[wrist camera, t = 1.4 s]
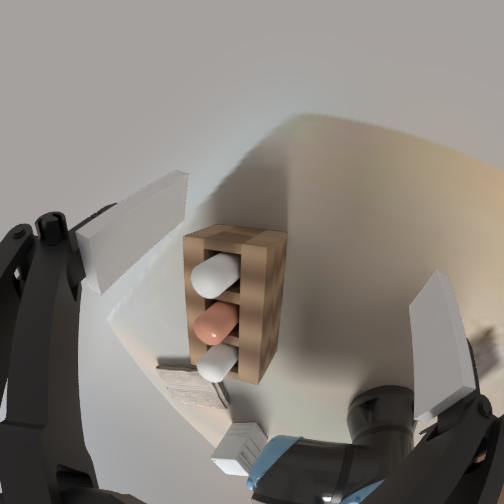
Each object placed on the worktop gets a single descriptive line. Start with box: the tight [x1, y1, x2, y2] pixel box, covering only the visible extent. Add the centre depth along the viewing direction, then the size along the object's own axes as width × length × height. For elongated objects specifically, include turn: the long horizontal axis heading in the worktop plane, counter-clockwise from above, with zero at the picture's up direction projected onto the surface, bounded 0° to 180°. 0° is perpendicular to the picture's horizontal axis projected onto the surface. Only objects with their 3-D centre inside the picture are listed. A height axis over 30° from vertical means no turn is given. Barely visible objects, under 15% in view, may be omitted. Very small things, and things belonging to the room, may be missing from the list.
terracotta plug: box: [194, 300, 240, 345], centre depth 38 cm, size 4×4×9 cm
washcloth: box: [156, 365, 230, 409], centre depth 58 cm, size 12×18×3 cm, turn 108°
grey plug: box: [191, 251, 241, 299], centre depth 36 cm, size 4×4×9 cm
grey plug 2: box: [197, 342, 239, 383], centre depth 40 cm, size 4×4×9 cm
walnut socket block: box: [183, 224, 287, 385], centre depth 42 cm, size 22×12×10 cm, turn 177°
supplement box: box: [211, 422, 268, 476], centre depth 51 cm, size 7×7×13 cm
